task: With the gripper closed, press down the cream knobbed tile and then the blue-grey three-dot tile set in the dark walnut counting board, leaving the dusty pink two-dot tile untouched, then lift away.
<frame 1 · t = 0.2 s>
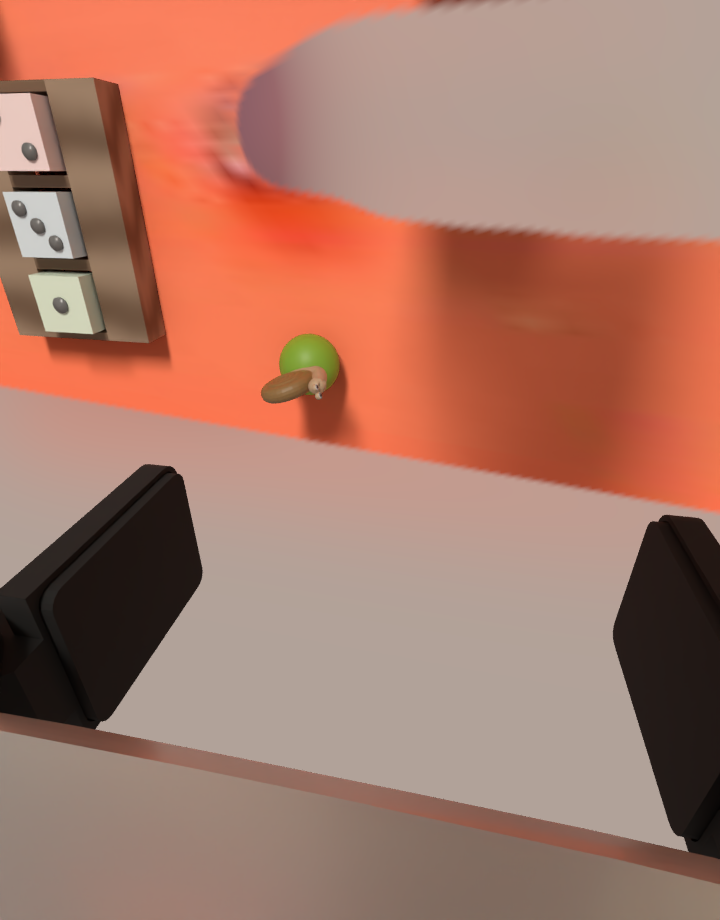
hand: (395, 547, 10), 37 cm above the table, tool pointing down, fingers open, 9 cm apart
counting board: (75, 221, 46), on the table
cream knobbed tile: (70, 302, 46), point 3 cm above the table, slide at 0.0 cm
two dot tile: (23, 134, 40), point 3 cm above the table, slide at 0.0 cm
three dot tile: (48, 224, 43), point 3 cm above the table, slide at 0.0 cm
snail figurine: (322, 353, 47), on the table
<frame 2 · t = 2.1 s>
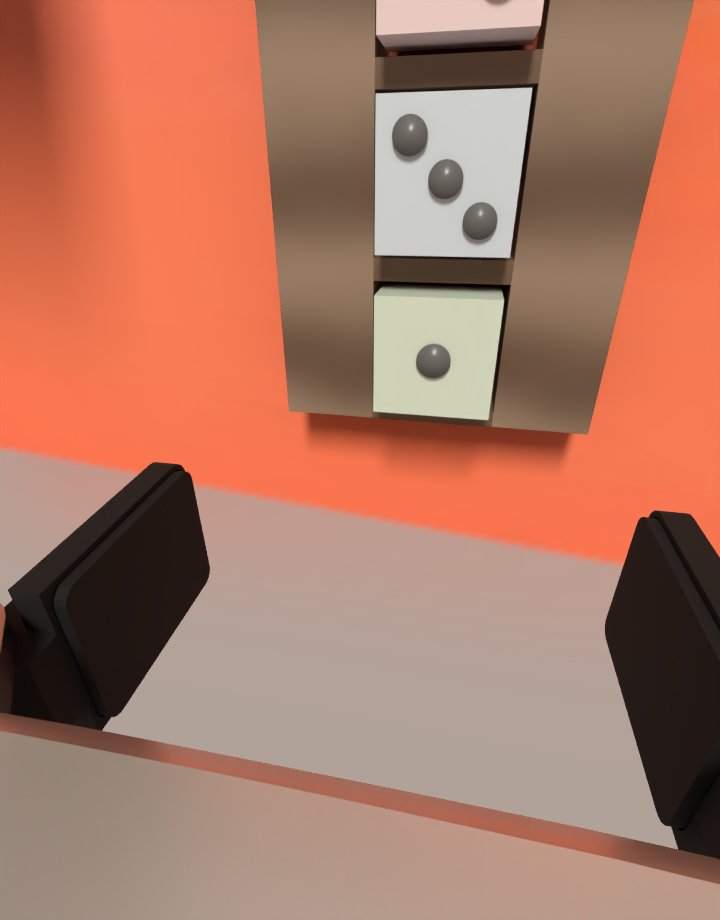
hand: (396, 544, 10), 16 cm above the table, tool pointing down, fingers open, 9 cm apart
counting board: (451, 179, 21), on the table
cream knobbed tile: (435, 352, 22), point 3 cm above the table, slide at 0.0 cm
three dot tile: (447, 179, 18), point 3 cm above the table, slide at 0.0 cm
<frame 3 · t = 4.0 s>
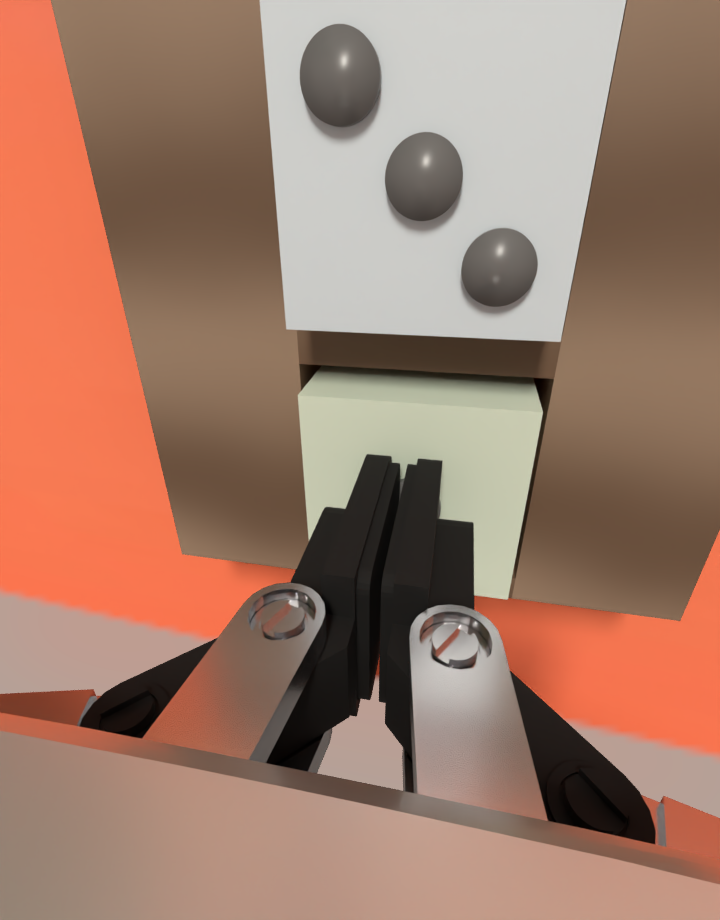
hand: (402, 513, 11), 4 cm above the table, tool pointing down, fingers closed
counting board: (440, 177, 12), on the table
cream knobbed tile: (415, 478, 12), point 3 cm above the table, slide at 0.4 cm, touching gripper
three dot tile: (429, 178, 9), point 3 cm above the table, slide at 0.0 cm
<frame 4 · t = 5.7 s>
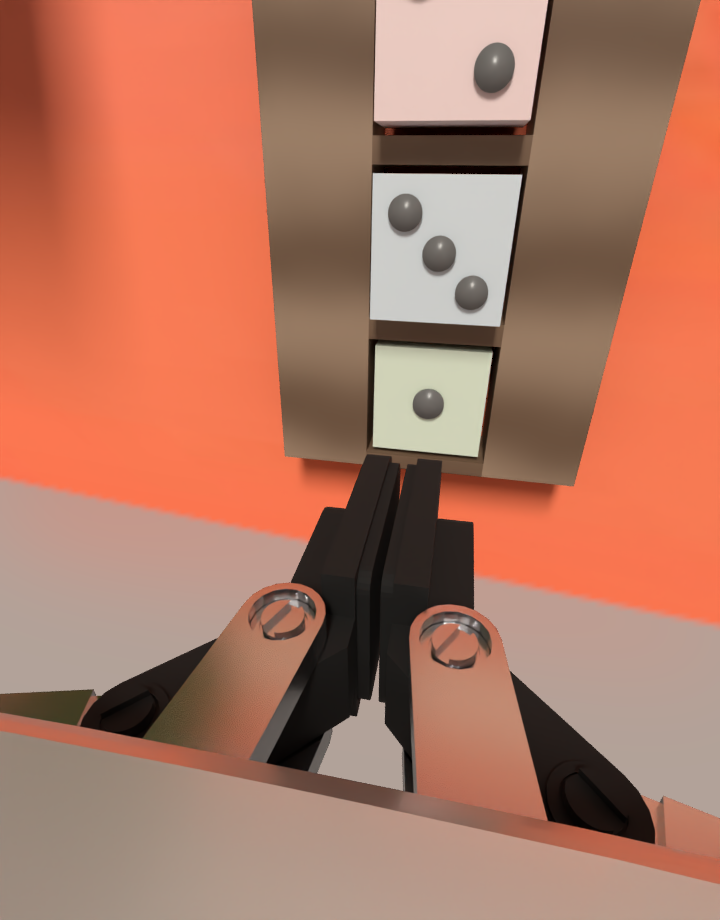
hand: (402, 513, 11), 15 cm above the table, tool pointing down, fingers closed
counting board: (444, 240, 22), on the table
cream knobbed tile: (430, 394, 24), point 2 cm above the table, slide at 1.6 cm
two dot tile: (459, 29, 16), point 3 cm above the table, slide at 0.0 cm
three dot tile: (440, 249, 19), point 3 cm above the table, slide at 0.0 cm
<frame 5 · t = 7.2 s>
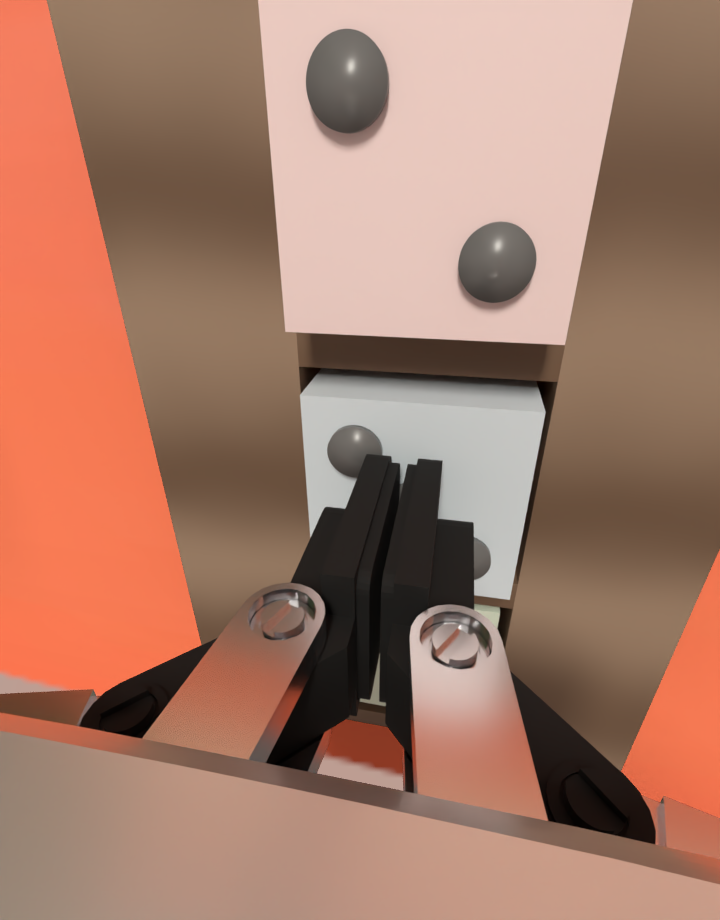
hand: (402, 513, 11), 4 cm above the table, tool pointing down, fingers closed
counting board: (426, 430, 15), on the table
cream knobbed tile: (410, 630, 16), point 2 cm above the table, slide at 1.6 cm
two dot tile: (431, 177, 9), point 3 cm above the table, slide at 0.0 cm
three dot tile: (417, 478, 12), point 3 cm above the table, slide at 0.6 cm, touching gripper
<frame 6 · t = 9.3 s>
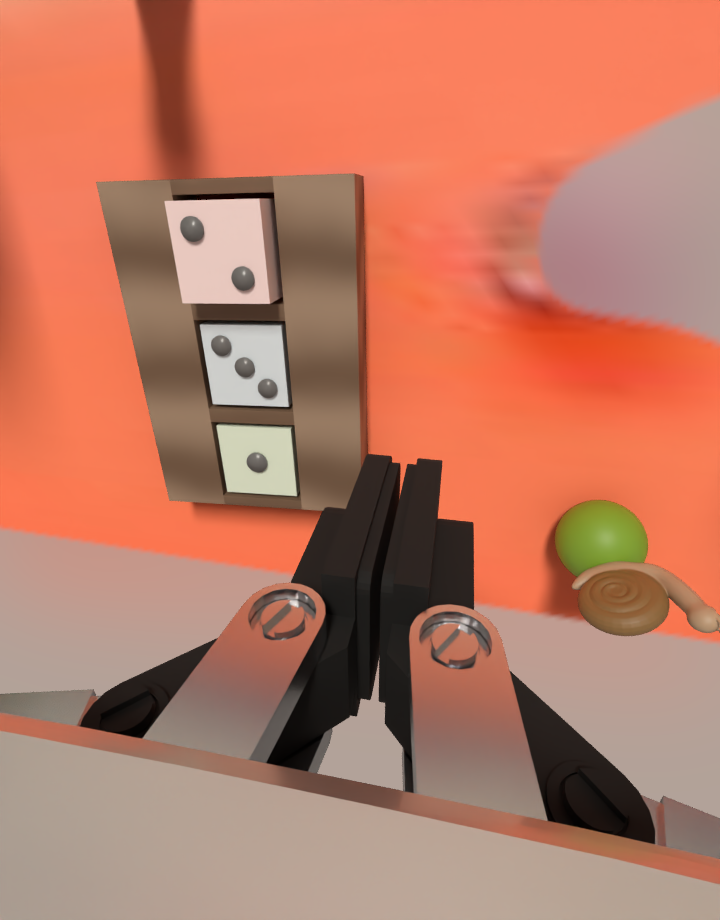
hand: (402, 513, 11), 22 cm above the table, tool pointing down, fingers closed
counting board: (260, 354, 33), on the table
cream knobbed tile: (263, 454, 34), point 2 cm above the table, slide at 1.6 cm
two dot tile: (227, 252, 27), point 3 cm above the table, slide at 0.0 cm
three dot tile: (251, 361, 31), point 2 cm above the table, slide at 1.6 cm
snail figurine: (595, 515, 35), on the table
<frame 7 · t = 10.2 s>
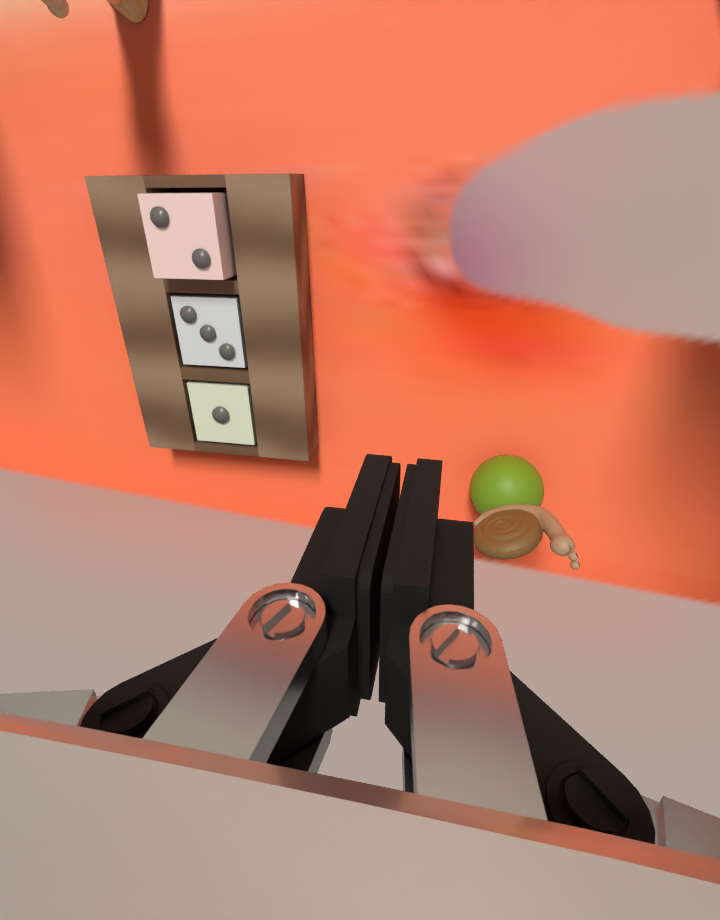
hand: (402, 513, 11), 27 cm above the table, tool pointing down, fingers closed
counting board: (225, 323, 39), on the table
cream knobbed tile: (227, 408, 40), point 2 cm above the table, slide at 1.6 cm
two dot tile: (190, 236, 33), point 3 cm above the table, slide at 0.0 cm
three dot tile: (215, 328, 37), point 2 cm above the table, slide at 1.6 cm
snail figurine: (510, 470, 40), on the table
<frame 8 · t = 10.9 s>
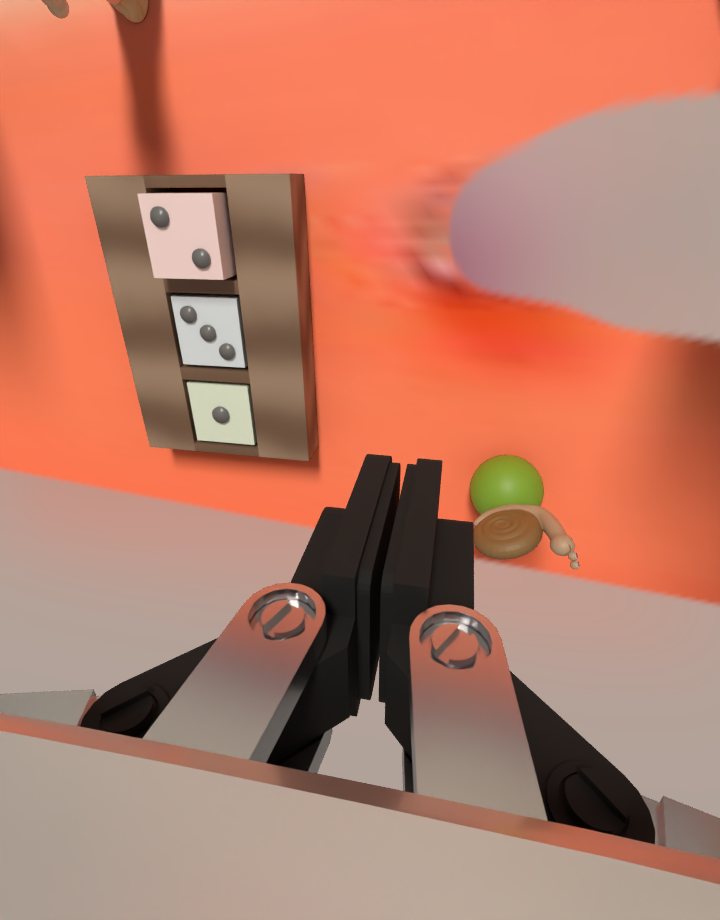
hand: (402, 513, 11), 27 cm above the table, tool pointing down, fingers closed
counting board: (225, 323, 39), on the table
cream knobbed tile: (227, 408, 40), point 2 cm above the table, slide at 1.6 cm
two dot tile: (190, 236, 33), point 3 cm above the table, slide at 0.0 cm
three dot tile: (215, 328, 37), point 2 cm above the table, slide at 1.6 cm
snail figurine: (510, 469, 40), on the table
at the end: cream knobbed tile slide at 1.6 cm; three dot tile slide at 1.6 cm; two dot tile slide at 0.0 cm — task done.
